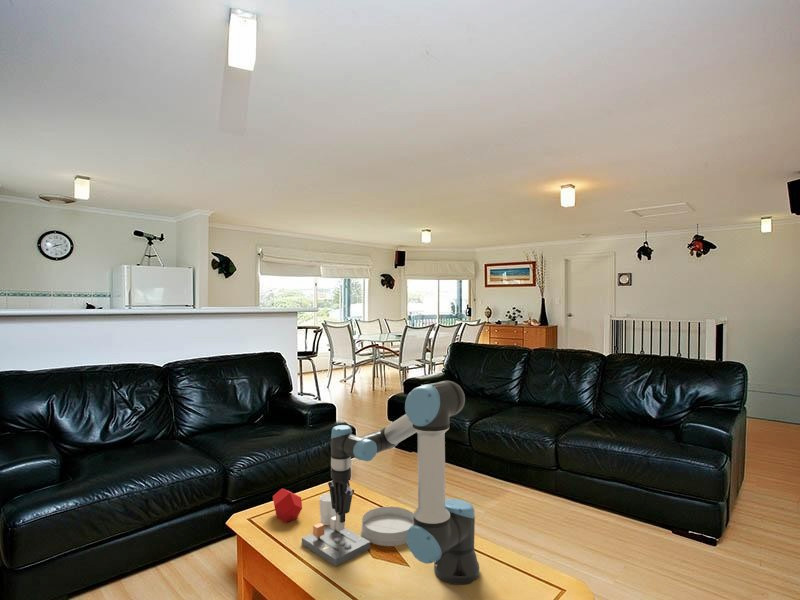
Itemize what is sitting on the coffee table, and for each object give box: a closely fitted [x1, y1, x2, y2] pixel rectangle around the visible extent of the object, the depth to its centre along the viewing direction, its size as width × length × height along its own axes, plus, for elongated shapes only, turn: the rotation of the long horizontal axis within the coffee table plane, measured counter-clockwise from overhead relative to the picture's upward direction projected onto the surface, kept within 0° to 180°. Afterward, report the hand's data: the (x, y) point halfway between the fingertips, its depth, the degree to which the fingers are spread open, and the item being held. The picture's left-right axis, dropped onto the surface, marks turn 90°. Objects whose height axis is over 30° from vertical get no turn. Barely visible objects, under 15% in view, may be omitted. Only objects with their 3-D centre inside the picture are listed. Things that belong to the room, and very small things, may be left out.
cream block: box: [329, 516, 337, 531], centre depth 177 cm, size 2×3×5 cm
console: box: [301, 525, 371, 567], centre depth 171 cm, size 20×16×3 cm
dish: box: [360, 506, 414, 547], centre depth 182 cm, size 22×22×5 cm
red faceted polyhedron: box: [272, 488, 303, 523], centre depth 193 cm, size 12×12×15 cm
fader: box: [312, 522, 325, 539], centre depth 171 cm, size 2×3×5 cm
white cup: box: [319, 492, 336, 526], centre depth 190 cm, size 8×8×10 cm
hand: (340, 529), depth 175 cm, fingers closed
